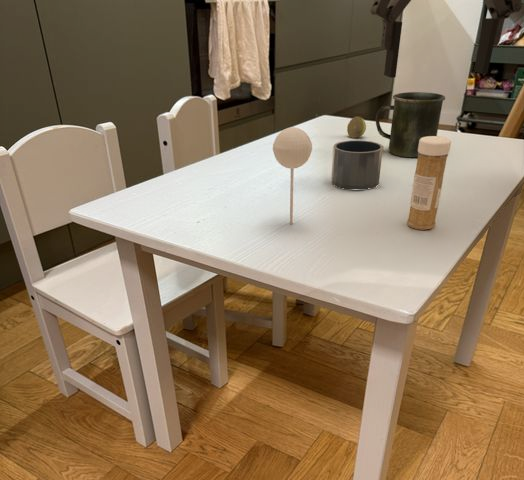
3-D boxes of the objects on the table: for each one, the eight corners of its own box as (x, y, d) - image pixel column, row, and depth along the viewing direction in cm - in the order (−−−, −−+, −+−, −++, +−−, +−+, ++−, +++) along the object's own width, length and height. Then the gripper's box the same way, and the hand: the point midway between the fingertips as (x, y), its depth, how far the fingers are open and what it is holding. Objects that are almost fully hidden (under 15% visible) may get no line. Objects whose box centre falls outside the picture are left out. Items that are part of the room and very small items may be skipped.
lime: (364, 139, 128) (366, 118, 125) (345, 138, 129) (347, 118, 126) (365, 135, 132) (367, 115, 129) (347, 134, 133) (348, 114, 130)
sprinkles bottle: (440, 226, 81) (458, 139, 73) (420, 232, 79) (436, 144, 71) (419, 218, 84) (434, 133, 77) (400, 223, 83) (413, 137, 75)
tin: (372, 174, 104) (376, 139, 100) (384, 189, 97) (388, 151, 93) (327, 176, 104) (329, 141, 100) (335, 191, 96) (338, 153, 92)
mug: (436, 159, 112) (447, 101, 105) (371, 157, 115) (377, 99, 108) (434, 147, 121) (444, 92, 114) (373, 145, 124) (378, 91, 116)
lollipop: (287, 233, 80) (288, 134, 71) (265, 222, 84) (264, 127, 75) (316, 224, 83) (321, 128, 74) (294, 214, 87) (296, 121, 78)
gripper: (548, -123, 63) (503, 67, 76) (357, -123, 61) (343, 74, 73) (586, -135, 57) (531, 74, 70) (376, -135, 55) (358, 81, 67)
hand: (435, 74), depth 72 cm, fingers open, 13 cm apart
